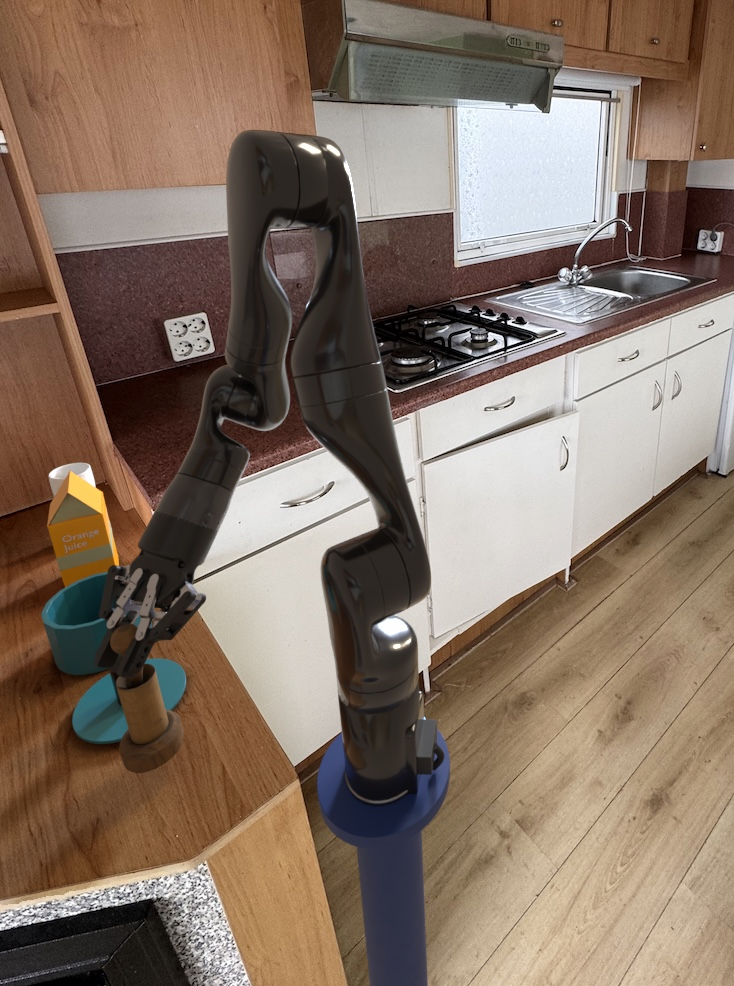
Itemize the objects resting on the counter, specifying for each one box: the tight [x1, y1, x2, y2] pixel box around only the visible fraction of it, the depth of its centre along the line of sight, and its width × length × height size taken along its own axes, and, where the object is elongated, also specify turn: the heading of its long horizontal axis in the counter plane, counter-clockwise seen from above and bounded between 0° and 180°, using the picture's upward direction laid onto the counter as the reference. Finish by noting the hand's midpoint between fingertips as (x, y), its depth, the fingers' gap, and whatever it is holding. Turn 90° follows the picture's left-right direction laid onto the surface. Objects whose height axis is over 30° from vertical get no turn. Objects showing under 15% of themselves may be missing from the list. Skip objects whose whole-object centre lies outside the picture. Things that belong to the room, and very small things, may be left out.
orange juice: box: [46, 471, 120, 588], centre depth 101 cm, size 8×9×20 cm
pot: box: [40, 572, 153, 676], centre depth 89 cm, size 13×13×8 cm
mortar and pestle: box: [110, 624, 185, 774], centre depth 67 cm, size 7×6×18 cm
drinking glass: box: [48, 462, 97, 498], centre depth 113 cm, size 7×7×15 cm
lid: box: [71, 656, 187, 745], centre depth 79 cm, size 13×13×7 cm
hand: (113, 670), depth 64 cm, fingers closed on mortar and pestle, 3 cm apart
